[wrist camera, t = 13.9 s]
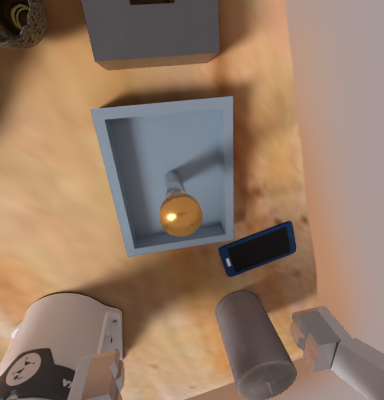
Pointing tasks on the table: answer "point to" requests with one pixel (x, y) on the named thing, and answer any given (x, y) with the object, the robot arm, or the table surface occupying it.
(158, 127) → the tray
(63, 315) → the robot arm
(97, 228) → the table surface
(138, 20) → the block
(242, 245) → the cell phone
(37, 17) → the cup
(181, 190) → the pin
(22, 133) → the table surface
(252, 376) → the pillar candle
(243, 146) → the table surface
